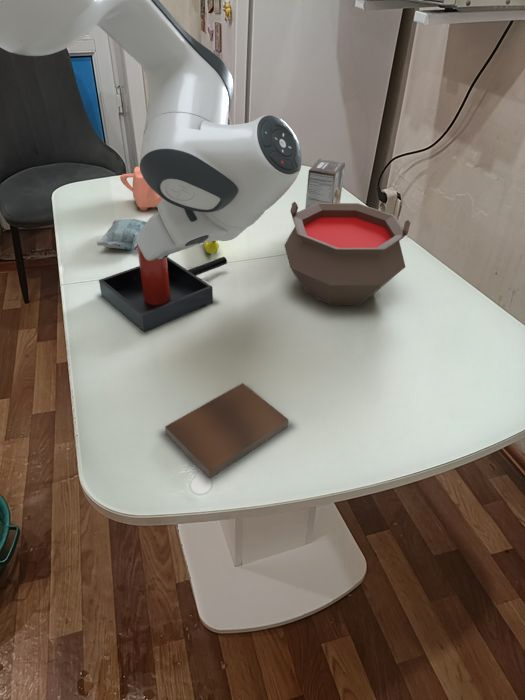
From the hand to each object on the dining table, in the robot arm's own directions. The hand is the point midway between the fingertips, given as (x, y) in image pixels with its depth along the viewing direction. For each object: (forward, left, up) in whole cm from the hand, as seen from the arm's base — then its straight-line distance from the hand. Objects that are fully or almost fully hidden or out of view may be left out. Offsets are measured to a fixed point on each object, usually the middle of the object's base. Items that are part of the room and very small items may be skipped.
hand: (184, 245), depth 82 cm
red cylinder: (0, +11, -15) cm, 18 cm away
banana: (+21, +22, -16) cm, 34 cm away
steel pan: (+4, +11, -15) cm, 19 cm away
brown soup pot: (+31, -8, -16) cm, 36 cm away
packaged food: (+7, +35, -16) cm, 39 cm away
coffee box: (+47, +12, -16) cm, 51 cm away
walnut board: (-11, -24, -15) cm, 31 cm away
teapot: (+24, +50, -16) cm, 57 cm away
